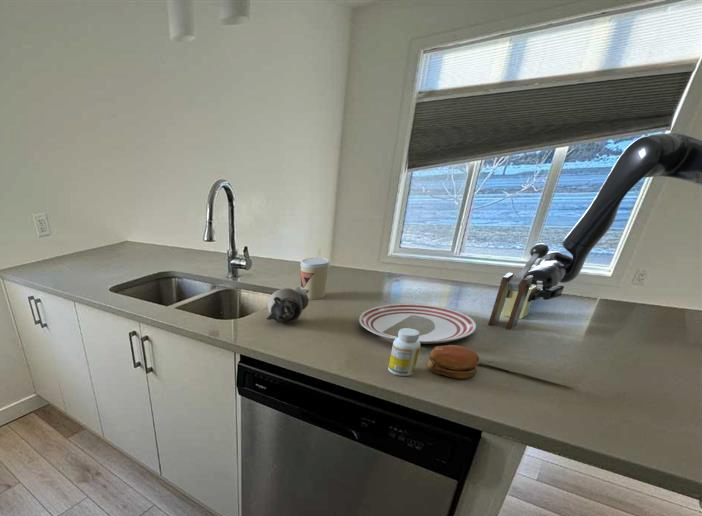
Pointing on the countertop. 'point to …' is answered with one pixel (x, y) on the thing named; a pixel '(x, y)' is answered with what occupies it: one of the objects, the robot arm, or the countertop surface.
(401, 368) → the supplement bottle
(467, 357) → the burger
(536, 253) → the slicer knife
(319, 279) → the coffee cup
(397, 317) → the dinner plate
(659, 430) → the countertop surface
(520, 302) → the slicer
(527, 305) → the butter
